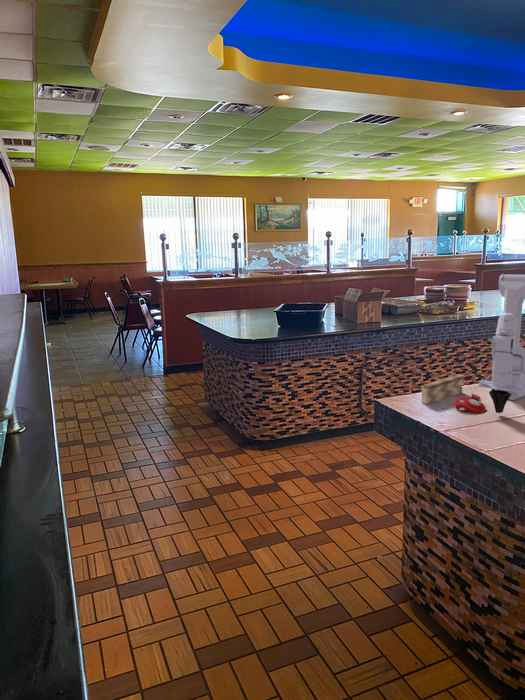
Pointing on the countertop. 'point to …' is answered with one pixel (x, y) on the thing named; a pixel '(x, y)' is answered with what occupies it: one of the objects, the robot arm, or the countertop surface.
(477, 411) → the tracker holder
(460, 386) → the wall board
